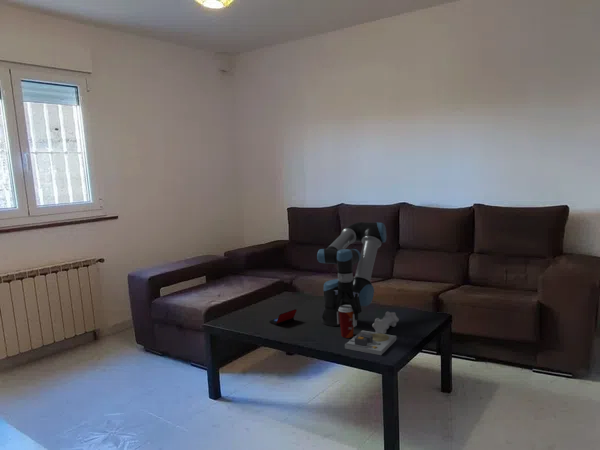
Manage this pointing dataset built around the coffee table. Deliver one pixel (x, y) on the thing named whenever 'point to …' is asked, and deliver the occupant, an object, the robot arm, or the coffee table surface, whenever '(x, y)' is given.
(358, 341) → the tagged breaker
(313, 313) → the coffee table surface
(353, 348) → the panel
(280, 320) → the handheld game console
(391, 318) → the bone shaped toy
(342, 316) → the coffee cup
